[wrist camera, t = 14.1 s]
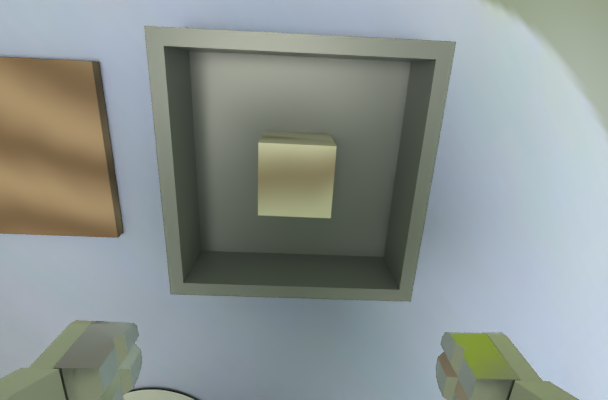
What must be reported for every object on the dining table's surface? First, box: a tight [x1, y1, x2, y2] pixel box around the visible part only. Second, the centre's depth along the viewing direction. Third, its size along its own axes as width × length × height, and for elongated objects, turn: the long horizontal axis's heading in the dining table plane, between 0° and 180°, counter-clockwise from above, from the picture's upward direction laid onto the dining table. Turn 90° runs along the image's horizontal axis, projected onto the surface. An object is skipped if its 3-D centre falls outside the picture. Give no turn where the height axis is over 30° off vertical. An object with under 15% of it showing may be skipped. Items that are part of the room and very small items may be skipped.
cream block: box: [258, 131, 337, 218], centre depth 26 cm, size 5×5×5 cm
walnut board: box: [0, 57, 123, 237], centre depth 28 cm, size 14×14×1 cm
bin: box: [144, 26, 456, 302], centre depth 26 cm, size 18×18×6 cm
